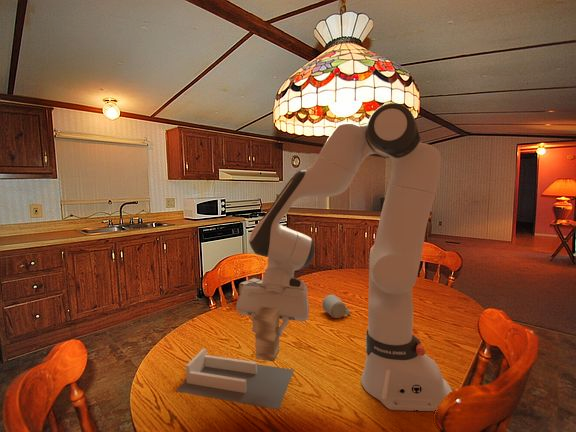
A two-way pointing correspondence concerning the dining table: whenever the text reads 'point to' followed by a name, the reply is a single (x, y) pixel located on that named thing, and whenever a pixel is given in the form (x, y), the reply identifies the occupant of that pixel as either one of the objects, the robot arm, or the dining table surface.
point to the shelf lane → (236, 380)
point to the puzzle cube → (248, 282)
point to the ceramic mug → (334, 306)
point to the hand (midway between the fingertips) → (266, 333)
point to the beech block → (266, 334)
